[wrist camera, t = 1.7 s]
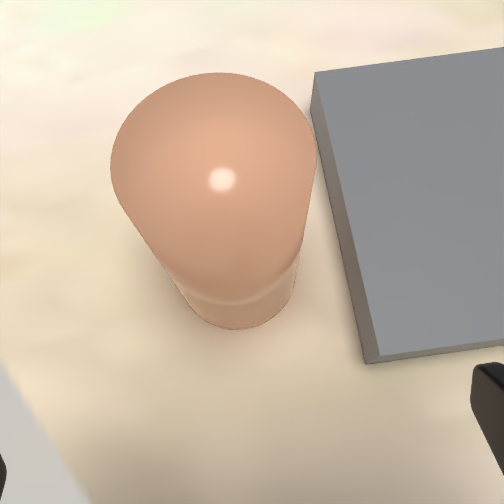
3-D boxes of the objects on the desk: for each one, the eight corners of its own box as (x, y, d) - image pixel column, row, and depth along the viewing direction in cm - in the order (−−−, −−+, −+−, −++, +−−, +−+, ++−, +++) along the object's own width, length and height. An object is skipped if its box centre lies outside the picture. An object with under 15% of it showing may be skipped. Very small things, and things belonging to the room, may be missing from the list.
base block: (673, 320, 22) (733, 306, 19) (365, 364, 21) (380, 356, 19) (557, 75, 27) (590, 35, 24) (310, 108, 27) (314, 72, 24)
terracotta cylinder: (304, 320, 22) (335, 235, 12) (184, 337, 22) (112, 265, 12) (285, 212, 24) (297, 61, 14) (176, 227, 24) (108, 86, 14)
